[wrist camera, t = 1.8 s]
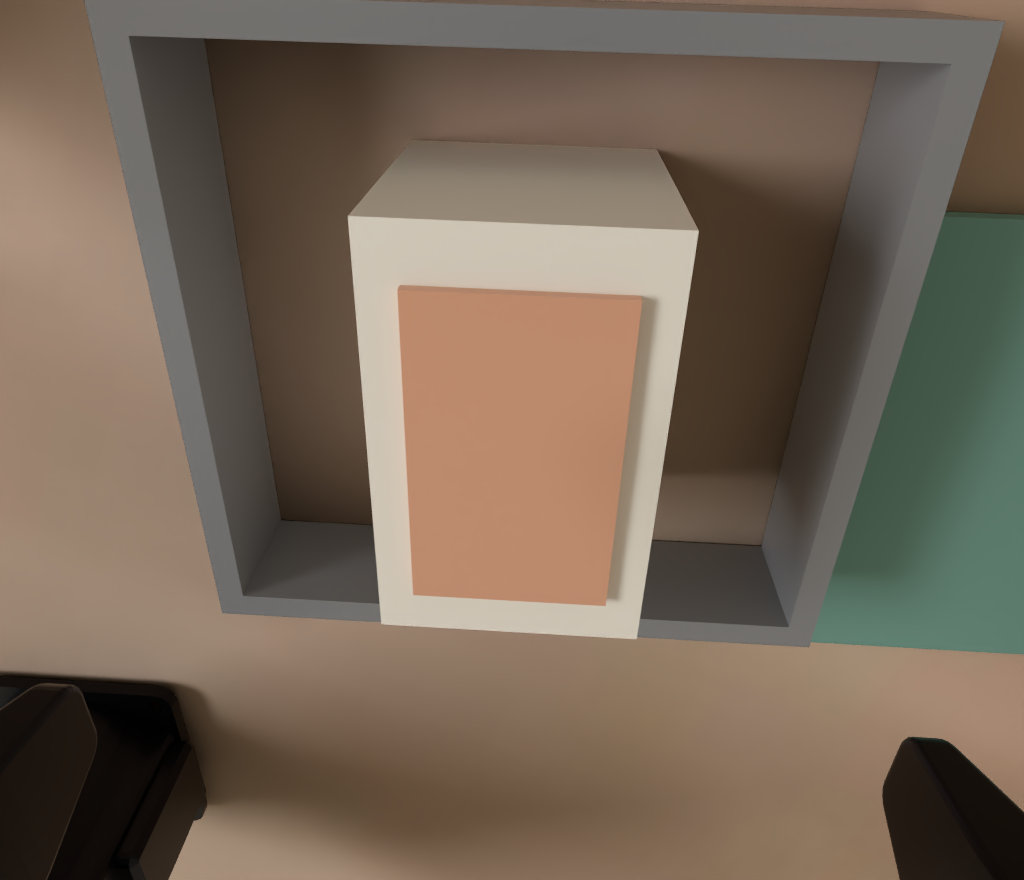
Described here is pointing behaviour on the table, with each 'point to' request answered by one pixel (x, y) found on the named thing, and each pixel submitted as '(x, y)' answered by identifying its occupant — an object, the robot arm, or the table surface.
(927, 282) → the rubber mat
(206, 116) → the bin
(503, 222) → the box
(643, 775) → the table surface
